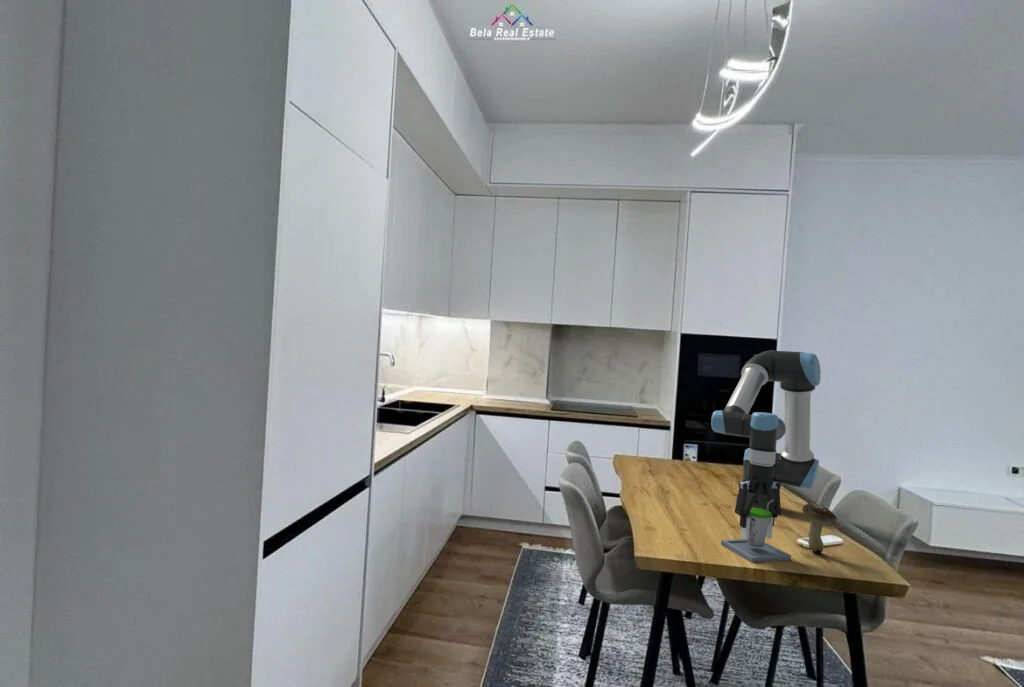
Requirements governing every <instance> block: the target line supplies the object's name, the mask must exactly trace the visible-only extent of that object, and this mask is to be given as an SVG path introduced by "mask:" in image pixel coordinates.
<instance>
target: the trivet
mask: <svg viewBox="0 0 1024 687" xmlns="http://www.w3.org/2000/svg"><path fill="white" fill-rule="evenodd" d="M720 541H721V542H720V545H721V546H723V547H725V548H726V549H728V550H730V551H732V552H733V553H735V554H737V555H738V556H740V557H742V558H744V559H745V560H747V561H749V562H750V563H758V562H759V563H760V562H761V563H762V562H778V561H779V562H780V561H791V560H792V555H791V554H789V553H788V552H785V551H783V550H781V549H780V548H778V547H776V546H774V545H772V544H770V543H768V542H766V541H765V542H764V546H763V547H754V546H751V545H749V544H748V541H747V540H746V539H744V538H741V539H739V538H737V539H735V538H734V539H733V538H732V539H721V540H720Z"/></svg>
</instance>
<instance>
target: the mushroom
mask: <svg viewBox="0 0 1024 687" xmlns="http://www.w3.org/2000/svg"><path fill="white" fill-rule="evenodd" d="M801 511H802V513H803V514H804V515H806V516H807V517H809V518H810V524H809V530H808V533H807V536H808V542H807V543H808V547H809V549H810V550H811V552H812V553H814V554H816V555H821V554H822V552H823V550H824V542H823V539H822V538H821V537H822V536H821V534H822V530H823V529H824V525H825V523H826V524H829V525H835V524H837V522H838V521H837V520H838V519H837V518H838V517H837V516H836V515H835V514H834V512H832V511H831V510H830V509H828V508H827V507H825V506H824V505H821V504H819V503H818V504H817V503H812V502H809V503H806V504H804V505H803V506H802V510H801Z"/></svg>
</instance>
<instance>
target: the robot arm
mask: <svg viewBox="0 0 1024 687" xmlns="http://www.w3.org/2000/svg"><path fill="white" fill-rule="evenodd" d="M740 375H741V377H740V379H739V381H738V383H737V385H736V387H735V388H734V390H733V392H732V394H731V395H730V398H729V400H728V402H727V404H726V406H725V408H724V409H723V410H722V409H721V410H715V411H713V412H712V414H711V418H710V420H711V421H710V424H711V426H710V427H711V429H712V431H713V432H714V433H718V434H723V435H728V436H735V437H744V438H749V446H748V448H746V449H745V450H744V456H743V460H742V461H743V466H742V467H743V468H742V481H739V482H738V494H737V495H736V497H735V498H736V500H735V507H734V513H735V514H737V515H738V516H739V527H740V537H741V539H746V540H749V527H750V518H749V517H748V515H749V513H750V510H751V508H752V507H754V508H761V509H764V510H767V503H768V502H769V501H771V500H772V499H774V501H773V502H771V503H770V504H769V510H768V511H769V512H771V513H772V517H770V520H769V524H768V529H767V533H766V539H772V537H773V528H774V526H775V518H776V519H777V518H778V516H779V515H781V514H782V511H781V510H782V509H781V508H782V507H781V493H780V492H781V487H782V485H785V486H791V487H795V488H798V489H808V490H809V489H812V488H813V487H814V485H815V483H816V479H817V474H818V470H819V465H820V461H819V459H817V458H815V454H814V452H813V451H812V450H811V449H810V447H811V442H810V441H811V393H812V392H814V391H815V390H816V387H817V386H819V385H820V382H821V363H820V360H819V358H818V355H816V354H815V353H813V352H804V351H792V350H791V351H789V350H788V351H787V350H772V349H770V350H766V351H762V352H760V353H758V354H756V355H754V356H753V357H751V358H750V359H749V360H747V362H745V364H744V365H743V367H742V369H741V372H740ZM767 382H777V383H780V384H779V385H780V386H779V387H780V389H781V390H782V391H784V420H783V419H781V418H780V417H778V415H777V414H775V413H770V412H763V411H761V412H759V411H756V412H752V414H749V413H750V411H751V408H752V406H754V403H755V401H756V398H757V396H758V395H759V392H760V390H761V388H762V386H764V385H765V384H766V383H767ZM783 437H784V447H783V448H782V449H781V450H780V452H777V441H780V440H781V439H782V438H783ZM744 512H745V513H744Z"/></svg>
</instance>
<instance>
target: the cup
mask: <svg viewBox="0 0 1024 687" xmlns="http://www.w3.org/2000/svg"><path fill="white" fill-rule="evenodd" d="M773 501H774V499H772V500H771V501H769V502H768V503H767V510H764V509H761V508H754V507H752V508H751V510H750V513H749V515H748V517H749V518H750V527H749V540H747V541H748V544H749V545H751V546H754V547H763V546H764V542H766V539H767V537H766V533H767V529H768V524H769V520H770V517H772V513H771V512H769V511H768V510H769V504H770V503H771V502H773ZM744 513H745V512H744Z"/></svg>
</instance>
